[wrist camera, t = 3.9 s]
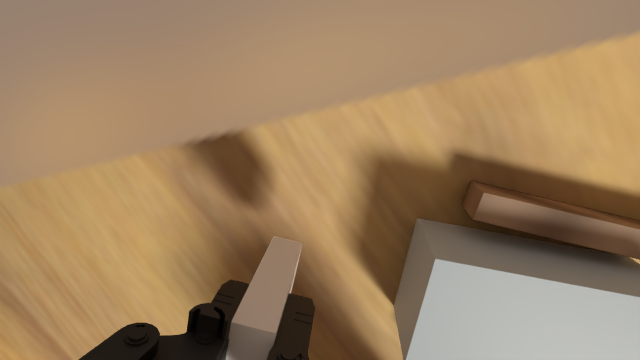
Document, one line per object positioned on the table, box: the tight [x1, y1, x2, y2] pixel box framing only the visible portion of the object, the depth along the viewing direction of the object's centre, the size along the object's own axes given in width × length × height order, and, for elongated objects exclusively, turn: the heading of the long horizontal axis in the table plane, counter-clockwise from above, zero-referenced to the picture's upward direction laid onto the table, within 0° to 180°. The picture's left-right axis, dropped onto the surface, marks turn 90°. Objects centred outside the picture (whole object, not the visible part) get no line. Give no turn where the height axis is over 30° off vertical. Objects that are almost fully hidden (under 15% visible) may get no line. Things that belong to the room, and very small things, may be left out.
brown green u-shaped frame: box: [462, 181, 640, 259], centre depth 19 cm, size 20×11×5 cm, turn 77°
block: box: [394, 218, 640, 360], centre depth 19 cm, size 12×6×5 cm, turn 81°
